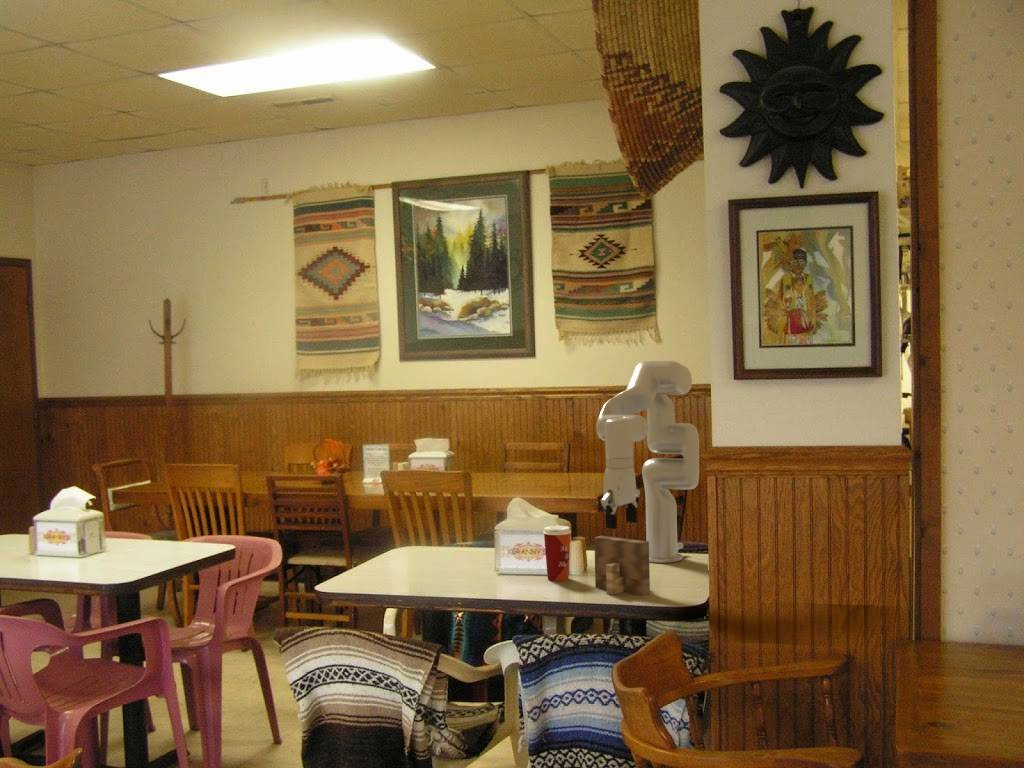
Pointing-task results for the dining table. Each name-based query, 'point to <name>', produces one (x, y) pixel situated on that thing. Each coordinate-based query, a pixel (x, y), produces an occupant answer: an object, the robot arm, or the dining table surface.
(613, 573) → the brown u-shaped block
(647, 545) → the walnut block
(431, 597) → the dining table surface
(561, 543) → the coffee cup
